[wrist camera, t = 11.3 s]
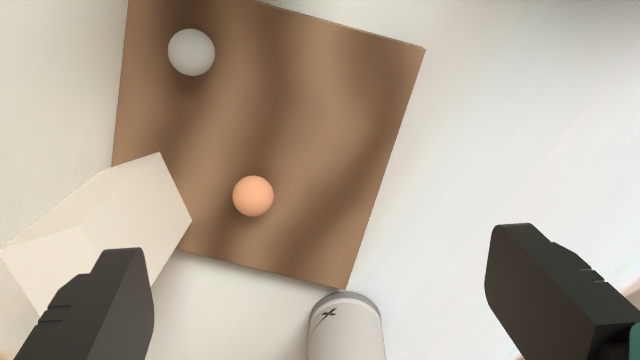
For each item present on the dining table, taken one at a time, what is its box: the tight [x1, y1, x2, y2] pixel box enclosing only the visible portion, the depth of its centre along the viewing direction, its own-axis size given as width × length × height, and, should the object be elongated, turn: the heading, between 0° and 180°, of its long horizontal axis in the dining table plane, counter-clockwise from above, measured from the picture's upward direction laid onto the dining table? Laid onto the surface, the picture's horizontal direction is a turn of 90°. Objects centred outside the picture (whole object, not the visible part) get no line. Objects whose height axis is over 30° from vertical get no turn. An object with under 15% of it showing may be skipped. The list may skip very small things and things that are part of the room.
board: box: [111, 0, 426, 290], centre depth 36 cm, size 20×20×2 cm
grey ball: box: [168, 29, 215, 76], centre depth 32 cm, size 3×3×3 cm
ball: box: [232, 176, 274, 216], centre depth 35 cm, size 3×3×3 cm
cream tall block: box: [0, 152, 192, 317], centre depth 32 cm, size 5×6×12 cm
